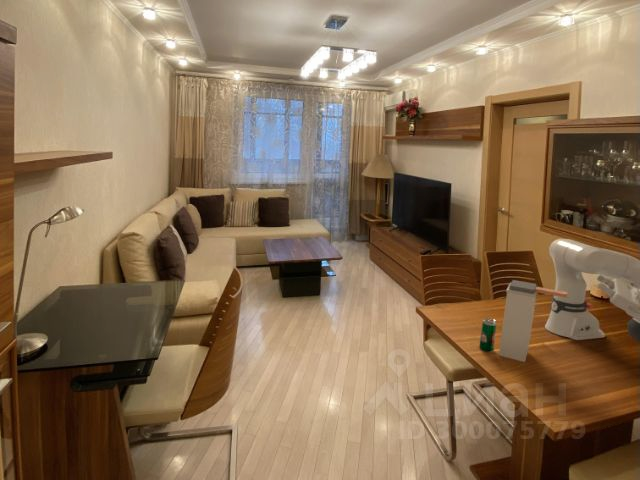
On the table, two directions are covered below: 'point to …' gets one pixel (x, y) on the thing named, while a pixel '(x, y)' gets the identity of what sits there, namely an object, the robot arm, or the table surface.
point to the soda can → (488, 335)
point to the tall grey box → (517, 324)
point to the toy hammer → (534, 289)
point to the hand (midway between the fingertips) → (598, 280)
